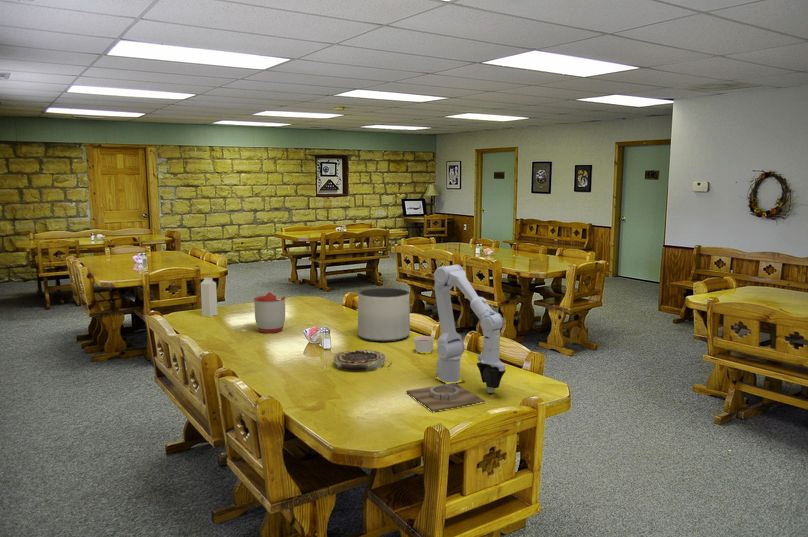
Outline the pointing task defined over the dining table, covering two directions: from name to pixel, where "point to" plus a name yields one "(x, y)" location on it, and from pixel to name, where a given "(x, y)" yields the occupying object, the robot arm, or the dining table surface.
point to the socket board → (436, 405)
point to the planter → (383, 314)
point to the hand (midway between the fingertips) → (490, 385)
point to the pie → (359, 360)
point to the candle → (423, 343)
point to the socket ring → (444, 397)
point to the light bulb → (488, 379)
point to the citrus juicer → (269, 313)
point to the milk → (208, 297)
